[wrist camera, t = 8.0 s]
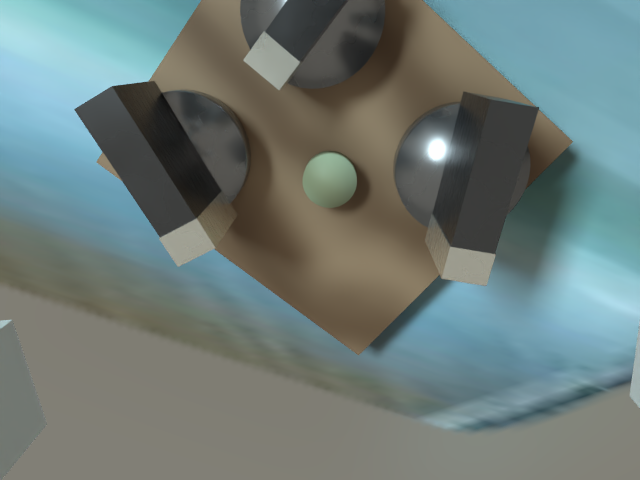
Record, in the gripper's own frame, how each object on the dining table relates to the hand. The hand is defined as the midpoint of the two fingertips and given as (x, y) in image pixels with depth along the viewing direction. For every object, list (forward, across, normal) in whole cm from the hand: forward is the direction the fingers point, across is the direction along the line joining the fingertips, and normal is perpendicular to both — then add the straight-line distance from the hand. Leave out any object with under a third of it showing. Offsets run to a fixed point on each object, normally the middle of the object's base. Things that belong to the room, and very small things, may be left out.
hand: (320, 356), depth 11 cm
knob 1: (+19, -8, +2) cm, 21 cm away
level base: (+21, 0, +1) cm, 21 cm away
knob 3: (+19, +7, 0) cm, 20 cm away
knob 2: (+19, 0, +8) cm, 21 cm away
